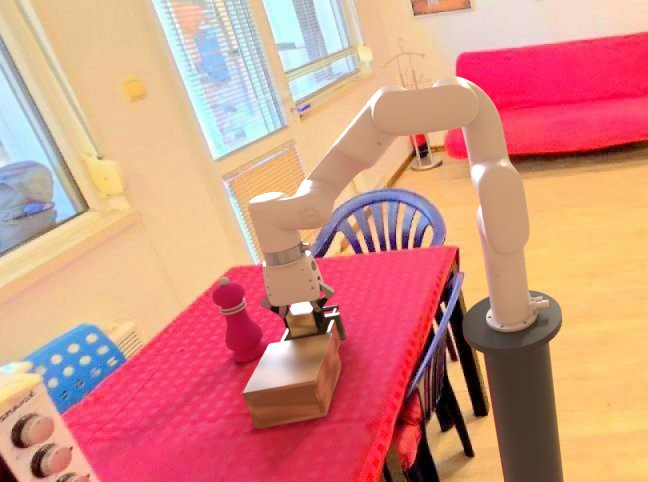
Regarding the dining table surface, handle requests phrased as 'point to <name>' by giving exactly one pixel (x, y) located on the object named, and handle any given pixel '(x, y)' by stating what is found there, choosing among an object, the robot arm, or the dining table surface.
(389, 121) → the robot arm
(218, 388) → the dining table surface
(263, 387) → the cabinet
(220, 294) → the pepper mill
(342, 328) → the drawer
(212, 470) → the dining table surface
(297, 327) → the block
